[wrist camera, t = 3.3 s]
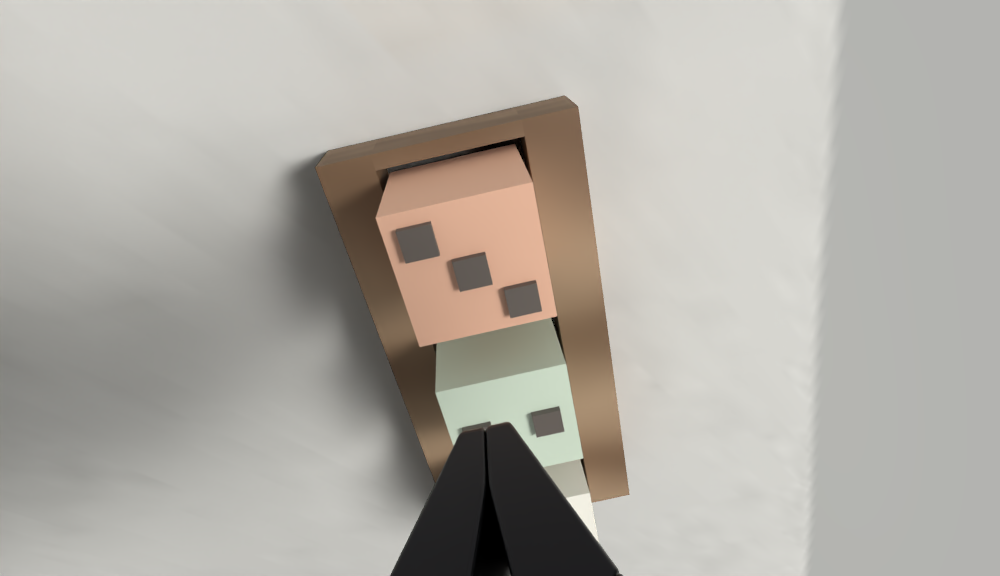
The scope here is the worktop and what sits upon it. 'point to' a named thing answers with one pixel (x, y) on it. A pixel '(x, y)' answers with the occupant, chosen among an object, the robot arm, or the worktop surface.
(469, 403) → the key two
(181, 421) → the worktop surface
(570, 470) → the key one
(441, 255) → the key three
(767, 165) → the worktop surface
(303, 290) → the worktop surface
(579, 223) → the board
